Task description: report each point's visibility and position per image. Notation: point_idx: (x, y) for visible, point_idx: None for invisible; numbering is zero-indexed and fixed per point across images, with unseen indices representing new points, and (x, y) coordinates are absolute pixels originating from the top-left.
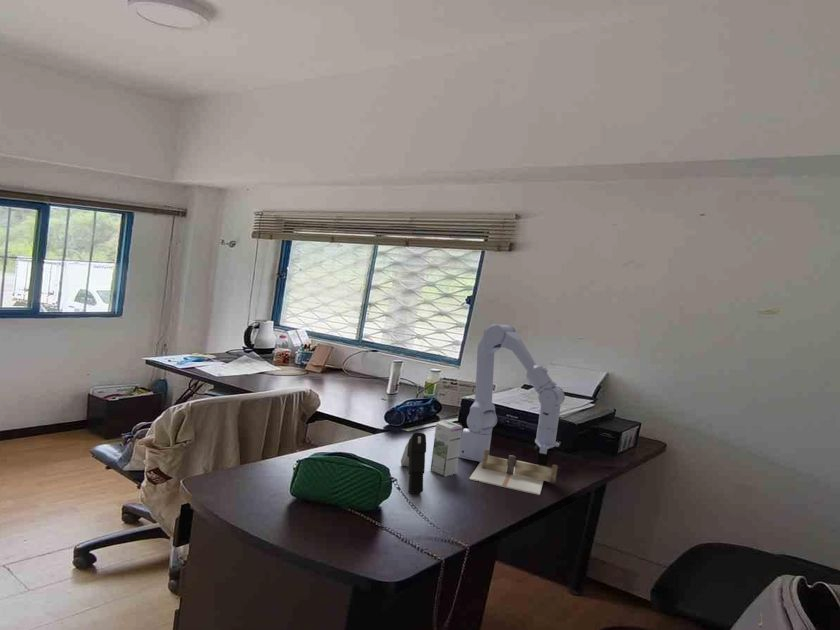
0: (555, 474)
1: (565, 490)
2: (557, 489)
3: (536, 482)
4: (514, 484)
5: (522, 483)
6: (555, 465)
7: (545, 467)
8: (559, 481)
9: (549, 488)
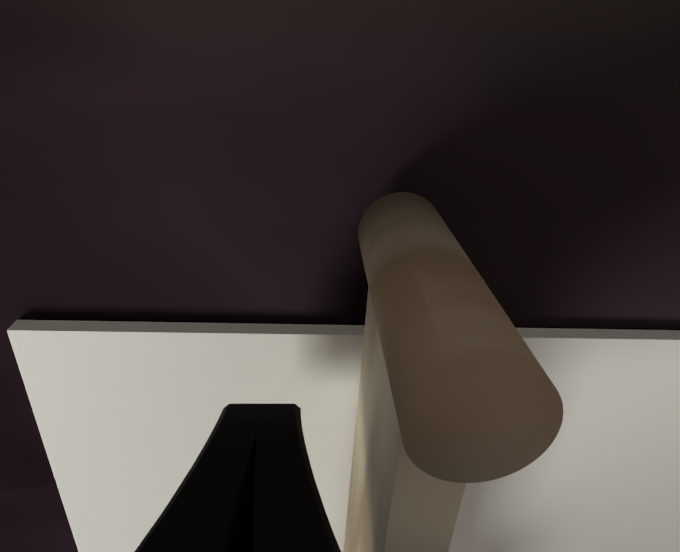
0: (470, 266)
1: (585, 4)
2: (584, 139)
3: None
4: (645, 540)
5: (588, 497)
6: (482, 414)
7: (459, 504)
8: (168, 109)
9: (584, 245)
